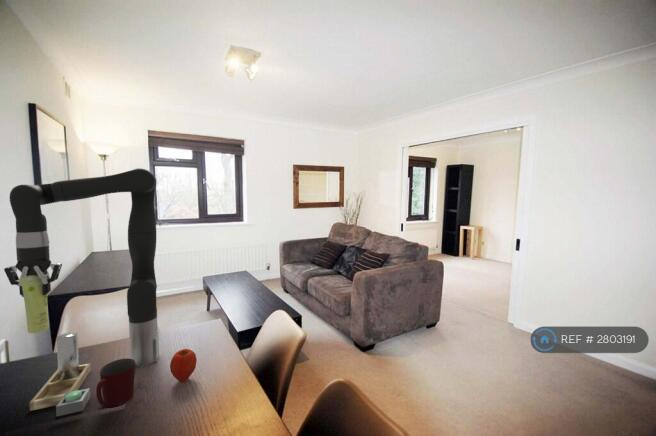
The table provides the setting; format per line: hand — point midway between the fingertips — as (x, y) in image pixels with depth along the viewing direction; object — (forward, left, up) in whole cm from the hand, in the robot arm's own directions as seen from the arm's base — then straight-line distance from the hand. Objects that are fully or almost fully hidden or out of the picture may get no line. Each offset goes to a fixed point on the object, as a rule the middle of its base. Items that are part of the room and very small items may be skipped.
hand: (35, 294), depth 94 cm
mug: (-26, +21, -31) cm, 46 cm away
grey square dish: (-15, +20, -31) cm, 40 cm away
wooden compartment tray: (-9, +8, -31) cm, 33 cm away
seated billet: (-9, +4, -30) cm, 32 cm away
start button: (-15, +19, -29) cm, 39 cm away
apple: (-45, +17, -31) cm, 57 cm away
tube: (0, 0, -13) cm, 13 cm away
